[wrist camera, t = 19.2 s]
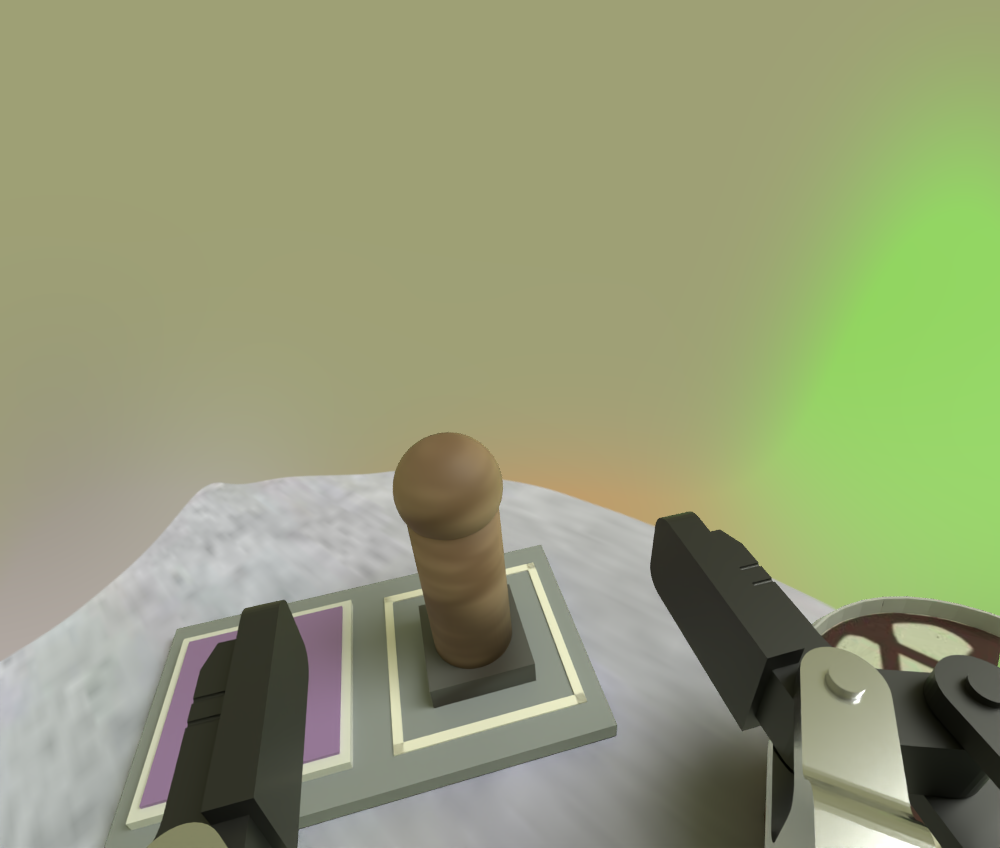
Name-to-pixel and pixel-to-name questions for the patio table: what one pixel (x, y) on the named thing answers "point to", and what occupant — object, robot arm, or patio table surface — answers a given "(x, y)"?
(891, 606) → the food container
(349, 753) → the stamping board
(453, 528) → the stamp
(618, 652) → the patio table surface
